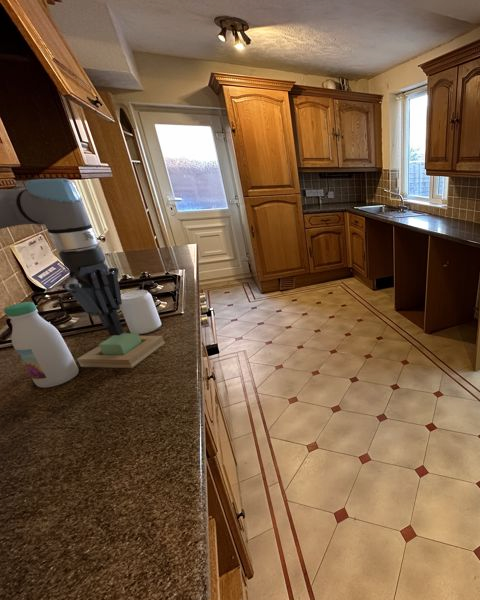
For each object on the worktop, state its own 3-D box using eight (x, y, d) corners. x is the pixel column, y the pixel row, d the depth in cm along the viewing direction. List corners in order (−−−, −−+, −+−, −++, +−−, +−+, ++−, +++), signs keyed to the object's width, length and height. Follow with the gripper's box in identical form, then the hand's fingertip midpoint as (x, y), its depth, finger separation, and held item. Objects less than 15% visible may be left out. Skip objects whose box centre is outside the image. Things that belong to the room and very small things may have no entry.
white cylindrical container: (150, 335, 98) (136, 299, 93) (124, 335, 98) (109, 300, 93) (167, 323, 105) (156, 289, 101) (143, 323, 106) (130, 289, 101)
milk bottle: (79, 365, 84) (43, 295, 76) (80, 378, 79) (42, 305, 71) (37, 378, 80) (-6, 305, 71) (36, 393, 74) (-11, 316, 66)
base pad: (80, 366, 84) (76, 358, 83) (119, 342, 95) (116, 335, 94) (132, 368, 83) (128, 360, 82) (165, 343, 94) (162, 335, 93)
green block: (104, 357, 86) (98, 344, 84) (123, 345, 91) (117, 333, 90) (125, 357, 86) (120, 345, 84) (143, 345, 91) (138, 333, 89)
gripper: (67, 255, 70) (109, 347, 80) (117, 241, 82) (148, 322, 92) (34, 255, 71) (80, 346, 80) (89, 241, 83) (123, 322, 92)
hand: (116, 333), depth 86 cm, fingers closed
